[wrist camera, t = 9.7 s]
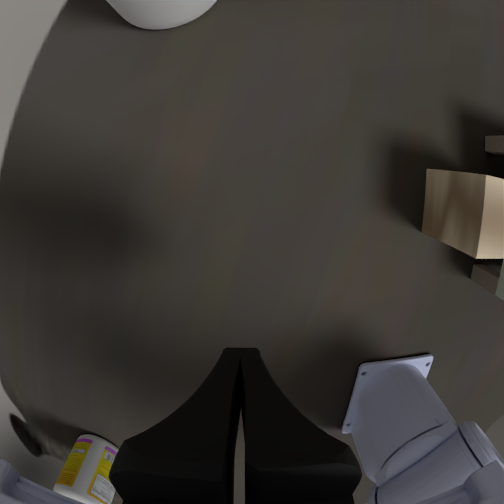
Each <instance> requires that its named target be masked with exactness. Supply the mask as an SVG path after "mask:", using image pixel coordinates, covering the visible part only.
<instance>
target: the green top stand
mask: <svg viewBox="0 0 504 504" xmlns="http://www.w3.org/2000/svg"><path fill="white" fill-rule="evenodd" d="M485 151H486V152H489V153H492V154H501V155H504V135H499V136H485ZM471 280H473V281H474V282H476V283H478V284H479V285H481V286H482V287H484V288H485V289H487V290H489V291H490V292H492V293H493V294H495V295H496V296H498V297H499V298H501V299H502V300H504V259H503V264H502V268H501V273H498V272H496V271H495V270H493V269H491V268H489V267H487V266H485V265H483V264H473V269H472V274H471Z"/></svg>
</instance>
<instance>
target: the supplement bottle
mask: <svg viewBox="0 0 504 504" xmlns="http://www.w3.org/2000/svg"><path fill="white" fill-rule="evenodd" d="M118 450H119V449H118V448H117V447H116V446H115V445H113V444H112V443H110V442H108V441H107V440H105V439H103V438H100V437H98V436H95V435H90V434H85V435H81V436H80V437H79V438H78V439H77V441H76V443H75V445H74V446H73V448H72V450H71V452H70V455H69V457H68V459H67V461H66V463H65V465H64V467H63V469H62V471H61V473H60V475H59V478H58V480H57V482H56V484H55V486H54V490H53V491H54V492H56V493H58V494H61V495H63V496H66V497H69V498H71V499H74V500H77V501H79V502H82V503H85V504H111V503H112V500H113V496H114V493H115V488H114V487H113V485H112V484H111V482H110V480H109V478H108V476H109V472H110V469H111V466H112V464H113V461H114V458H115V456H116V454H117V452H118Z"/></svg>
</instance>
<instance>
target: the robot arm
mask: <svg viewBox="0 0 504 504" xmlns="http://www.w3.org/2000/svg"><path fill="white" fill-rule="evenodd" d="M432 361H433V356H432V355H431V354H427V355H421V356H414V357H408V358H401V359H394V360H386V361H378V362H369V363H363V364H361V365H360V367H359V370H358V374H357V378H356V382H355V385H354V389H353V393H352V396H351V400H350V403H349V407H348V410H347V413H346V417H345V420H344V423H343V426H342V432H343V433H351V434H352V437H353V439H354V442H355V445H356V448H357V451H358V454H359V457H360V460H361V464H362V467H363V470H364V472H365V474H366V475H367V477H368V478H369V479H371V480H372V481H373V482H375V483H376V484H377V486H375V487H373V488H372V489H371V491H370V493H369V497H368V502H367V504H504V461H503V459H502V458H501V456H500V455H499V453H498V452H497V450H496V449H495V447H494V446H493V444H492V443H491V442H490V440H489V439H488V438H487V436H486V435H485V434H484V432H483V431H482V430H481V429H480V427H479V426H478V425H477V424H476V423H475V422H467V421H464V422H463V423H462V424H461V425H460V426H459V425H458V424H457V423H456V422H455V420H454V419H453V417H452V416H451V414H450V413H449V412H448V410H447V409H446V407H445V406H444V404H443V403H442V401H441V400H440V398H439V397H438V396H437V394H436V393H435V391H434V390H433V389H432V387H431V386H430V384H429V383H428V382H427V380H426V377H427V374H428V372H429V369H430V366H431V364H432ZM363 372H365V373H363ZM362 373H363V374H362ZM241 409H242V420H243V430H244V440H245V504H354V499H353V495H352V494H353V492H354V491H355V489H356V487H357V486H358V484H359V482H360V480H361V477H362V473H361V468H360V465H359V463H358V461H357V459H356V457H355V455H354V453H353V451H352V450H351V448H350V446H349V445H347V444H345V443H343V442H341V441H340V440H338V439H336V438H334V437H332V436H330V435H329V434H327V433H326V432H324V431H323V430H321V429H320V428H318V427H317V426H316V425H315V424H313V423H312V422H311V421H310V420H308V419H307V418H306V417H305V416H304V415H303V414H301V413H300V412H299V411H298V410H297V409H296V408H295V407H294V406H293V404H292V403H291V402H290V401H289V400H288V399H287V398H286V397H285V395H284V394H283V393H282V391H281V390H280V389H279V387H278V386H277V385H276V383H275V382H274V380H273V378H272V377H271V375H270V374H269V372H268V370H267V368H266V366H265V364H264V362H263V360H262V358H261V355H260V352H259V350H258V349H257V348H225V349H224V350H223V352H222V354H221V356H220V358H219V360H218V362H217V363H216V365H215V367H214V368H213V370H212V371H211V372H210V374H209V375H208V377H207V378H206V379H205V381H204V382H203V383H202V384H201V386H200V387H199V388H198V389H197V390H196V392H195V393H194V394H193V395H192V396H191V397H190V398H189V399H188V400H187V401H186V402H185V403H184V404H183V405H182V406H180V407H179V408H178V409H177V410H176V411H174V412H173V413H172V414H171V415H169V416H168V417H167V418H165V419H164V420H162V421H161V422H159V423H158V424H156V425H154V426H153V427H151V428H150V429H148V430H146V431H144V432H142V433H140V434H138V435H136V436H134V437H131V438H129V439H127V440H125V441H124V442H123V444H122V445H121V447H120V449H119V450H118V452H117V454H116V456H115V458H114V461H113V464H112V466H111V469H110V472H109V476H108V478H109V480H110V482H111V484H112V485H113V487H114V488H115V490H116V491H117V492H118V494H119V495H120V497H121V498H122V499H123V503H122V504H233V503H234V457H235V446H236V439H237V432H238V425H239V418H240V411H241ZM348 423H349V424H348ZM0 504H85V503H82V502H79V501H77V500H74V499H71V498H69V497H66V496H63V495H61V494H58V493H56V492H54V491H51V490H49V489H47V488H44V487H42V486H40V485H38V484H36V483H34V482H32V481H30V480H27V479H25V478H23V477H22V476H20V475H19V473H18V472H17V471H16V469H15V468H14V467H13V466H12V465H11V464H9V463H8V462H6V461H5V460H3V459H1V458H0Z"/></svg>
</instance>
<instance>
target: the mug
mask: <svg viewBox="0 0 504 504" xmlns="http://www.w3.org/2000/svg"><path fill="white" fill-rule="evenodd" d="M106 1H107V2H108V3H109V4H110V5H111V6H112V7H113V8H114V9H115V10H116V11H117V12H118V13H119V14H120V15H121V16H122V17H123V18H124V19H125V20H126V21H128V22H129V23H131V24H132V25H135V26H137V27H140V28H143V29H152V30H159V29H168V28H173V27H177V26H180V25H183V24H186V23H188V22H190V21H192V20H194V19H196V18H198V17H199V16H201V15H202V14H204V13H205V12H206V11H207V10H209V9H210V8H211V7H212V6H213V5H214V3H215V2H216V1H217V0H106Z"/></svg>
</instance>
